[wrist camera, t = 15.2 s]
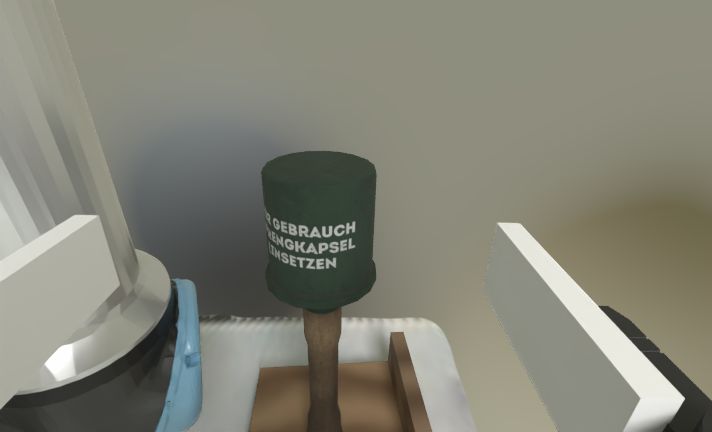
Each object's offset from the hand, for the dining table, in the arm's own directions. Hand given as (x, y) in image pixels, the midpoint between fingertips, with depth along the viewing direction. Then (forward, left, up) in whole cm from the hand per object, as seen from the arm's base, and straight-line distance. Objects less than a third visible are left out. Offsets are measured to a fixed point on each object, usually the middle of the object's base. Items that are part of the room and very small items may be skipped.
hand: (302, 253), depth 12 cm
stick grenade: (-8, +11, -31) cm, 34 cm away
